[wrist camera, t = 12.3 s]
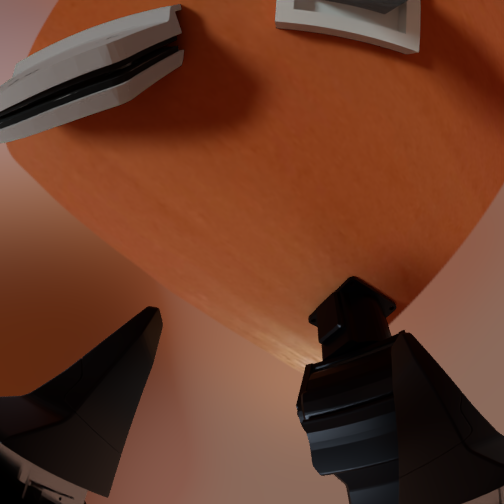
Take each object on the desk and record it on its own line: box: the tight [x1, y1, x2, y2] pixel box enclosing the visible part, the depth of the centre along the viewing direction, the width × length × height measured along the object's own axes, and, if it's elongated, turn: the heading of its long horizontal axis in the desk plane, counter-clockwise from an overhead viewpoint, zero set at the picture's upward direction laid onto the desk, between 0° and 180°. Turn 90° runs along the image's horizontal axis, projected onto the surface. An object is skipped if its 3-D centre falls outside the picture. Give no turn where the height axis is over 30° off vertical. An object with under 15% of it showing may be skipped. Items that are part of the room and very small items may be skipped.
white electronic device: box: [0, 4, 184, 143], centre depth 13 cm, size 17×5×10 cm, turn 89°
